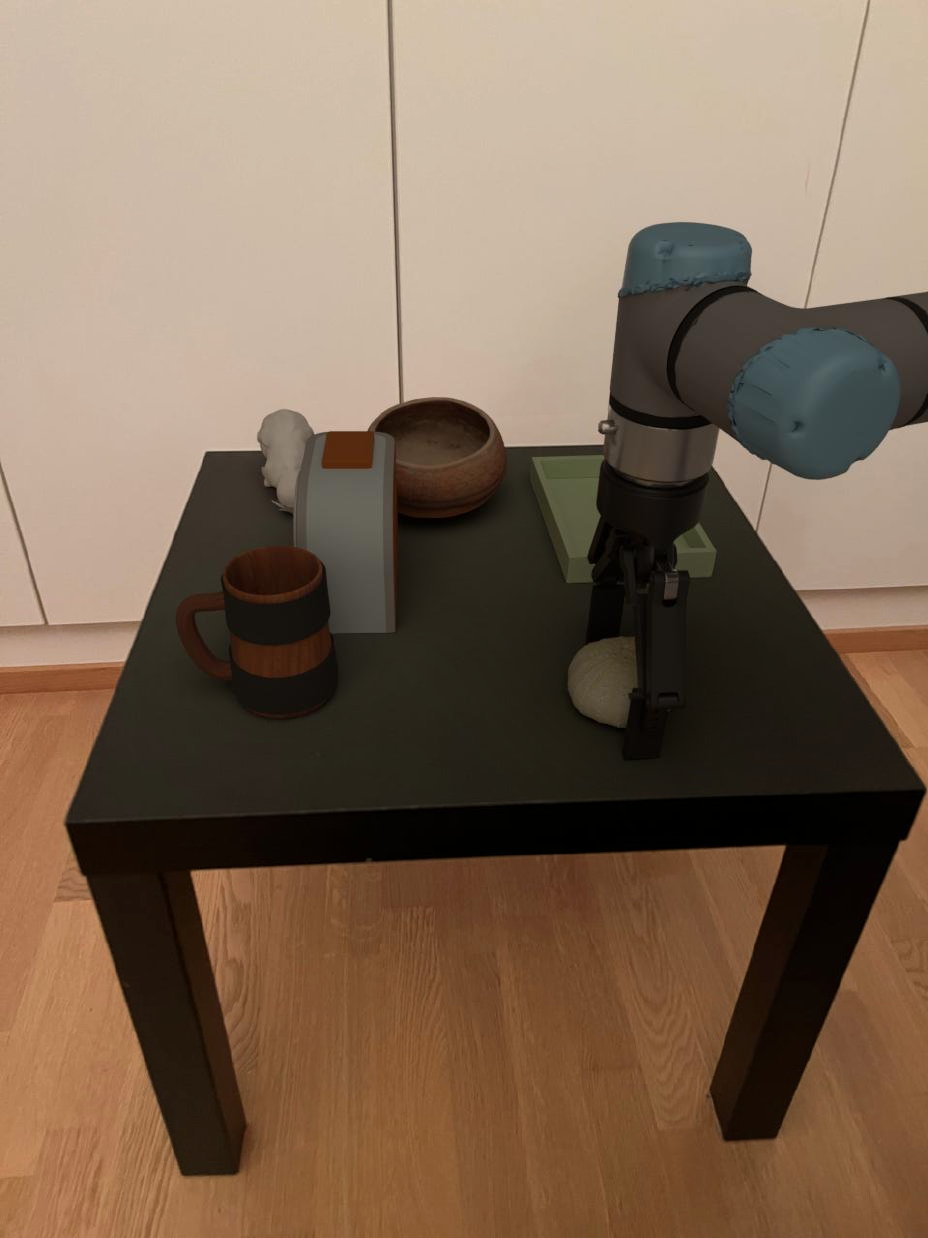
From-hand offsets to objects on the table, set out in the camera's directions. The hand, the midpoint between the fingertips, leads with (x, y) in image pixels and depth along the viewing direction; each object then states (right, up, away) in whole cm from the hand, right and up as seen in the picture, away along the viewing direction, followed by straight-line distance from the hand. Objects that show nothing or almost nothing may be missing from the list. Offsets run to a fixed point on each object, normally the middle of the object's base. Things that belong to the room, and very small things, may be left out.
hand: (619, 698), depth 78 cm
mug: (-29, 0, 0) cm, 29 cm away
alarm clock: (-23, +9, +13) cm, 28 cm away
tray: (+3, +17, +24) cm, 29 cm away
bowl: (-16, +19, +27) cm, 37 cm away
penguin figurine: (-32, +20, +27) cm, 46 cm away
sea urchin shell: (0, 0, 0) cm, 0 cm away
